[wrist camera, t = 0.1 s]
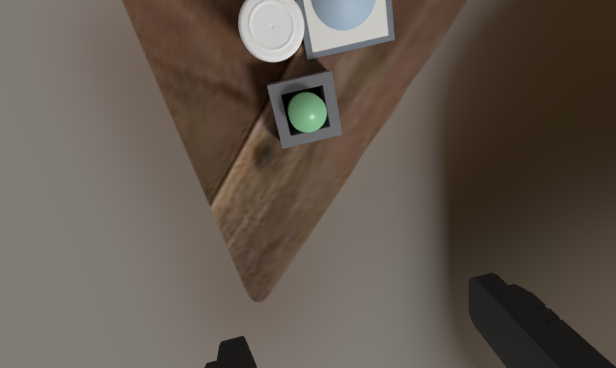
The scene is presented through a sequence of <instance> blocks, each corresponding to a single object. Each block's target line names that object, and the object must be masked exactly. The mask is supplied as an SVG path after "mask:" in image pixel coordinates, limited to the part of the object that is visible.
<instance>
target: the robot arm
mask: <svg viewBox="0 0 616 368" xmlns="http://www.w3.org/2000/svg"><path fill="white" fill-rule="evenodd" d="M468 308H469V314H470V317H471V320H472V322H473V324H474V325H475V327H476V328H477V330H478V331H479V332H480V334H481V335H482V336H483V338H484V339H485V340H486V341H487V343H488V344H489V345H490V347H491V348H492V349H493V350H494V352H495V353H496V354H497V356H498V357H499V358H500V360H501V361H502V362H503V363H504V365H505V366H506V367H507V368H616V367H615V366H614V365H613V364H612V363H610V362H609V361H608V360H607V359H606V358H605V357H603V355H601V354H600V353H599V352H598V351H597V350H596V349H595V348H594V347H592V346H591V345H590V344H589V343H588V342H587V341H586V340H585V339H583V338H582V337H581V336H580V335H579V334H578V333H577V332H576V331H574V330H573V329H572V328H571V327H570V326H569V325H568V324H567V323H565V322H564V321H563V320H560V318H559V317H558V315H556V314H555V313H554V312H553V311H552V310H551V309H548V308H547V306H546V305H545V304H544V303H543V302H542V301H541V300H540V299H539V298H537V297H536V296H535V295H534V294H533V293H531V292H529V291H527V290H525V289H523V288H522V287H520V286H518V285H515V284H512V285H507V284H506V283H505V282H504V281H503V280H502V279H501V278H500V277H499V276H498V275H496V274H495V273H487V274H483V275H480V276H476V277H472V278H470V279H469V307H468ZM205 368H257V366H256V363H255V361H254V358H253V356H252V354H251V351H250V349H249V346H248V344H247V342H246V339H245V338H244V336H240V337H237V338H233V339H229V340H225V341H222V342H221V343H220V345H219V351H218V357H217V361H213V362H210V363H207V364H206V366H205Z"/></svg>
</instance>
